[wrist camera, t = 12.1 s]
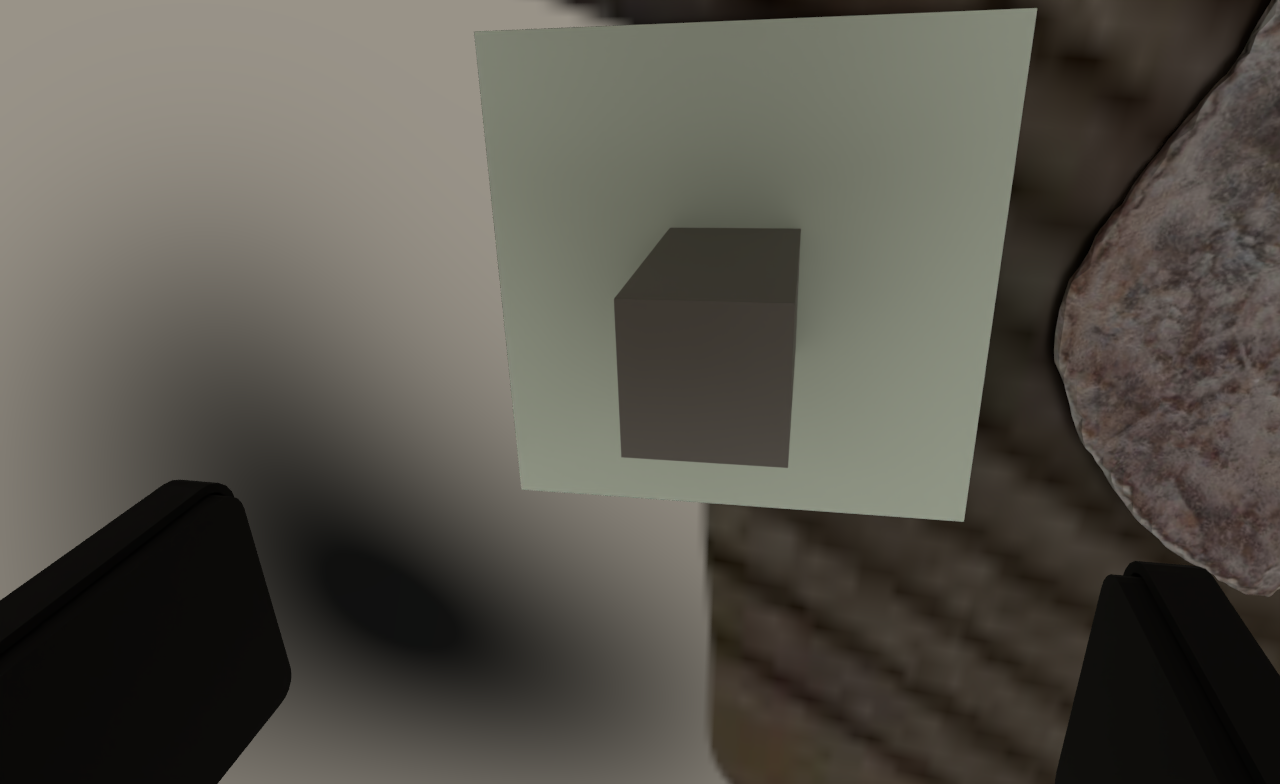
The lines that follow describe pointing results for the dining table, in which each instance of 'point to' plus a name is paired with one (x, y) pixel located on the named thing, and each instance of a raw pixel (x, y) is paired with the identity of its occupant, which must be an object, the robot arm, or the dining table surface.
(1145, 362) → the fossil
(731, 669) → the dining table surface
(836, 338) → the lid
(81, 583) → the robot arm
